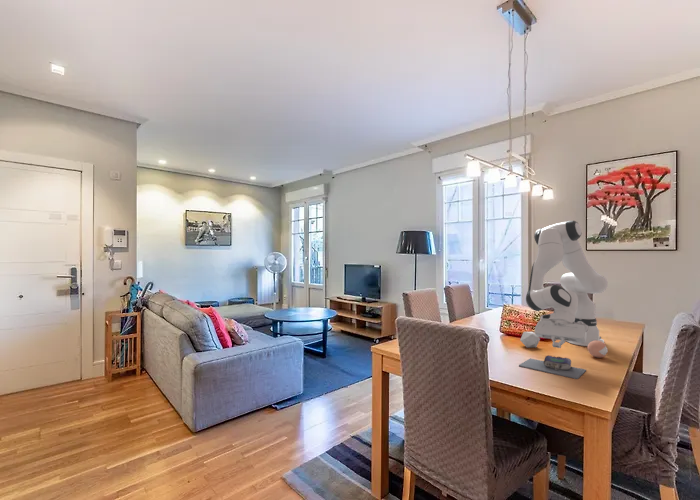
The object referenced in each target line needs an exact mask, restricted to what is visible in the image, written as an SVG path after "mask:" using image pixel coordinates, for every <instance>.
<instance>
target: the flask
mask: <svg viewBox="0 0 700 500" xmlns="http://www.w3.org/2000/svg"><path fill="white" fill-rule="evenodd" d="M543 361H544V362H543V363H544V365H545V366H547V367H550V368H554V369H556V370H557V369H558V370H559V369H560V370H568V369H570V368H571V367H572V366H571V365H572V360H571V359H570V358H568V357H561V356H552V355H545V356H544V360H543Z"/></svg>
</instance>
